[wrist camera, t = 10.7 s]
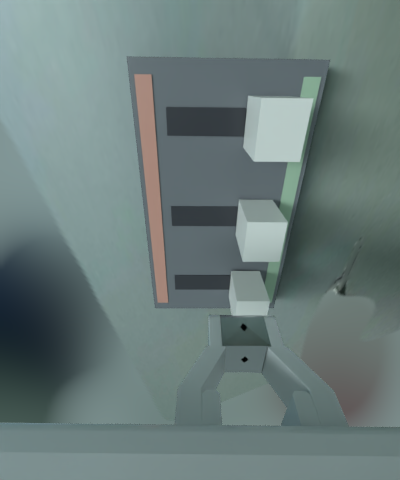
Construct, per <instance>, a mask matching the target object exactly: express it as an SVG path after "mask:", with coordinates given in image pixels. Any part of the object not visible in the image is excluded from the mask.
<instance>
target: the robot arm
mask: <svg viewBox="0 0 400 480" xmlns="http://www.w3.org/2000/svg"><path fill="white" fill-rule="evenodd" d="M224 372H256V373H262V375H263V376H264V377H265V379H266V380H267V381H268V383H269V384H270V385H271V387H272V388H273V389H274V391H275V392H276V393H277V395H278V396H279V398H280V399H281V400H282V401H283V403H284V404H285V406H286V407H287V410H286V413H285V416H284V418H283V421H282V423H281V426H247V425H222V417H221V402H220V393H219V392H218V391H217V390H216V388H217V386H218V384H219V382H220V380H221V378H222V376H223V374H224ZM0 480H400V427H349V426H348V423H347V421H346V418H345V416H344V414H343V411H342V409H341V407H340V404H339V402H338V400H337V397H336V395H335V393H334V391H333V389H331V388H330V387H329V386H328V385H327V384H326V383H325V382H324V381H323V380H322V379H321V378H320V377H319V376H318V375H317V374H316V373H315V372H314V371H313V370H311V369H310V368H309V367H308V366H307V365H306V364H305V363H304V362H303V361H302V360H301V359H300V358H299V357H298V356H297V355H296V354H295V353H294V352H293V351H292V350H291V349H289V348H288V347H284V344H283V341H282V337H281V334H280V331H279V328H278V325H277V322H276V319H275V317H274V316H262V315H241V316H233V315H209V319H208V346H206V347H205V349H204V350H203V352H202V353H201V355H200V356H199V358H198V359H197V361H196V362H195V364H194V365H193V366H192V368H191V369H190V371H189V372H188V374H187V375H186V377H185V378H184V380H183V381H182V383H181V384H180V386H179V387H178V390H177V402H176V413H175V425H156V424H152V425H151V424H62V423H61V424H60V423H58V424H57V423H55V424H54V423H0Z"/></svg>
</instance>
